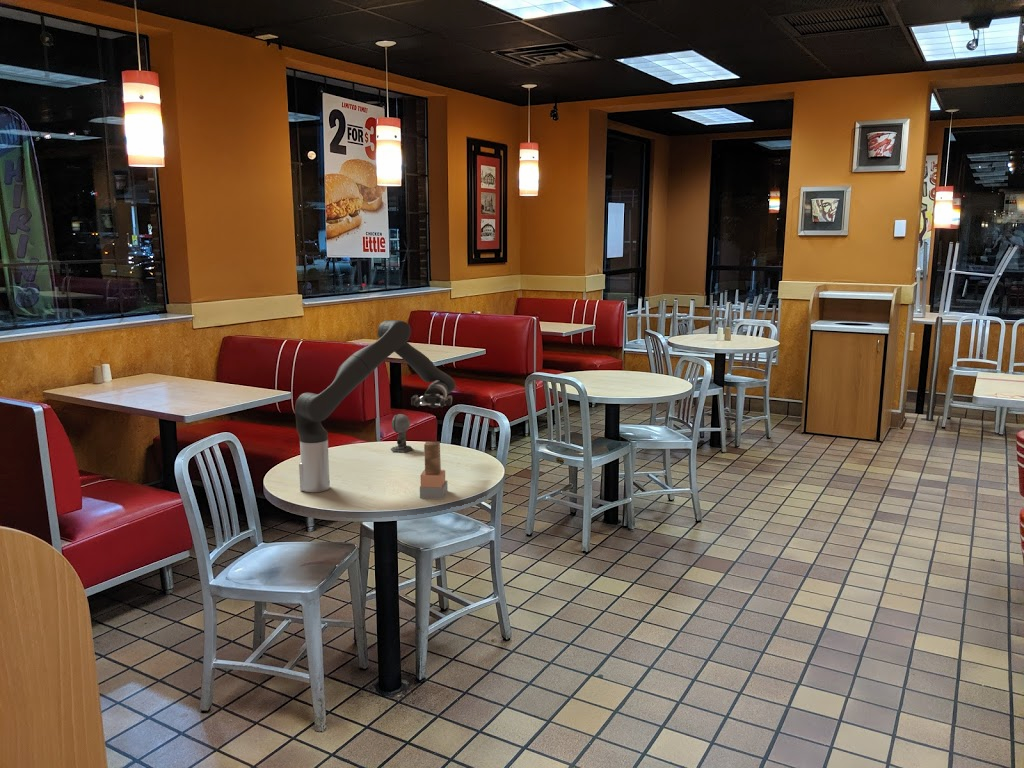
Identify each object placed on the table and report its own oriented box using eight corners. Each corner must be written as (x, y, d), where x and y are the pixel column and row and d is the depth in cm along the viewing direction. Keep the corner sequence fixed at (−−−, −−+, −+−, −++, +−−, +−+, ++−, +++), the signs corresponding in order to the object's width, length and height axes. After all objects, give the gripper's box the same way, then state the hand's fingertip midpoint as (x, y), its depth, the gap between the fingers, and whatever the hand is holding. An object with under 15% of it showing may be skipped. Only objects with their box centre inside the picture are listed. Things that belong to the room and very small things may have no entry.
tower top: (420, 486, 255) (420, 475, 254) (425, 480, 262) (424, 469, 261) (441, 487, 254) (441, 475, 254) (445, 481, 261) (445, 469, 260)
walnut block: (425, 474, 255) (424, 444, 253) (427, 470, 260) (426, 441, 258) (439, 474, 255) (438, 444, 253) (440, 470, 259) (439, 441, 258)
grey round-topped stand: (394, 446, 320) (393, 411, 317) (416, 447, 318) (416, 412, 316) (387, 452, 312) (386, 416, 309) (410, 453, 310) (409, 417, 307)
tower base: (419, 498, 255) (419, 487, 255) (424, 491, 263) (424, 479, 262) (443, 499, 255) (443, 487, 254) (447, 491, 263) (447, 480, 262)
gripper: (416, 385, 284) (408, 393, 268) (454, 385, 283) (449, 393, 267) (416, 405, 285) (408, 414, 269) (455, 405, 284) (449, 415, 268)
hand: (428, 404), depth 268 cm, fingers open, 8 cm apart
